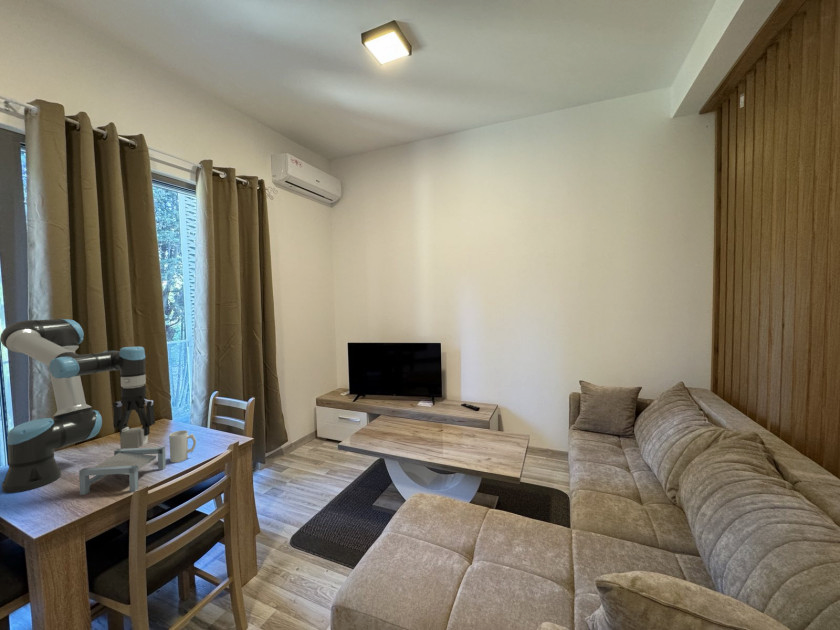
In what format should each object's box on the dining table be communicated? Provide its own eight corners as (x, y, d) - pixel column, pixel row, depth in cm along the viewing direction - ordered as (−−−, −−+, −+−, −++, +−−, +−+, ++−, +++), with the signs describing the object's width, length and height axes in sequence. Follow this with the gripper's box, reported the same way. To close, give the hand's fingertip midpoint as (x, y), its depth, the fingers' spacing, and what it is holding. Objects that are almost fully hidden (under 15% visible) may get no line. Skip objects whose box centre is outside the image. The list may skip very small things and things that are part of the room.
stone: (120, 448, 129) (120, 433, 129) (131, 442, 135) (131, 427, 135) (137, 447, 130) (137, 432, 130) (148, 441, 136) (147, 427, 136)
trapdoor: (90, 471, 125) (91, 468, 125) (119, 454, 138) (119, 452, 138) (131, 474, 126) (132, 472, 126) (155, 458, 140) (156, 455, 140)
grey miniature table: (79, 494, 122) (79, 470, 122) (118, 470, 141) (117, 449, 140) (135, 491, 125) (134, 467, 125) (165, 467, 143) (165, 446, 143)
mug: (167, 464, 146) (166, 436, 146) (172, 457, 153) (172, 431, 152) (193, 460, 150) (193, 434, 149) (198, 454, 156) (198, 428, 156)
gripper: (98, 389, 127) (100, 449, 128) (153, 387, 130) (155, 446, 130) (114, 384, 134) (115, 441, 135) (165, 383, 137) (167, 438, 138)
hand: (135, 443), depth 133 cm, fingers closed on stone, 6 cm apart
